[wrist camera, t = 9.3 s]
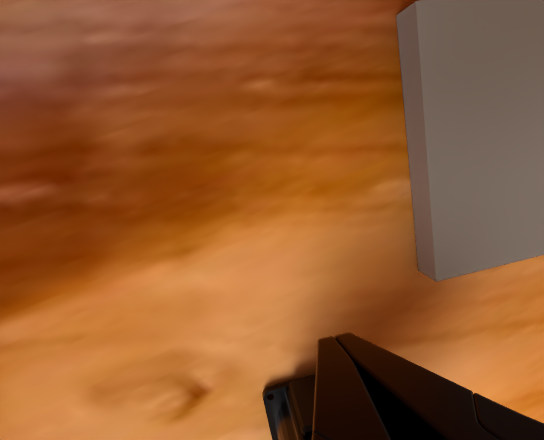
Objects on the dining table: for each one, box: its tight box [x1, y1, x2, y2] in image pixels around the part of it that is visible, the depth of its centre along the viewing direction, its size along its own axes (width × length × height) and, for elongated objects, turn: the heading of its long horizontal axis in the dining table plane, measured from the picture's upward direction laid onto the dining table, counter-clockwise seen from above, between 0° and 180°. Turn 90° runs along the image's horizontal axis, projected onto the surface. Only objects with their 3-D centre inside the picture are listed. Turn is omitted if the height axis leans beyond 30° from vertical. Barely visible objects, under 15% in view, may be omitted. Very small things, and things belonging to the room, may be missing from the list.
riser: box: [396, 0, 544, 282], centre depth 21 cm, size 16×12×2 cm
